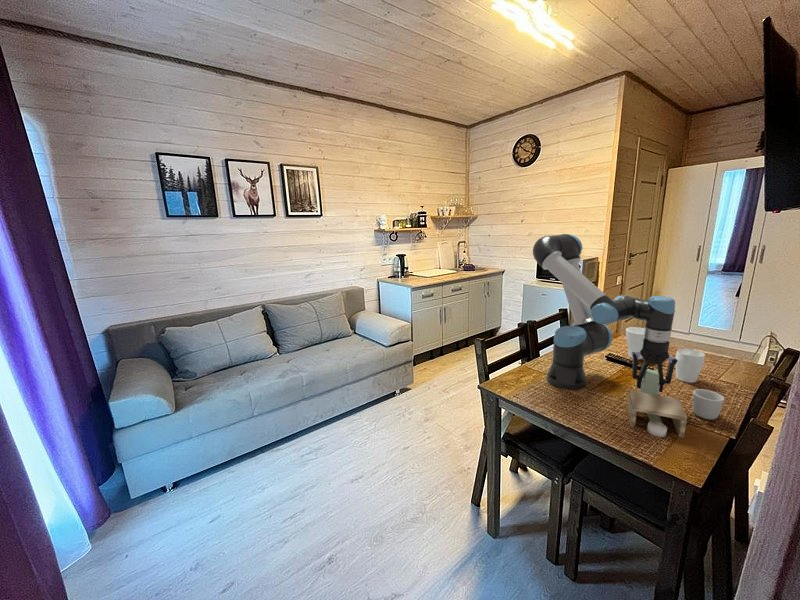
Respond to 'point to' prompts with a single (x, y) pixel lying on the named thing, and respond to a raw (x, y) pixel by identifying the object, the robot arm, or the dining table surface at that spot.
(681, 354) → the cup
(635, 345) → the cup
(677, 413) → the beige arch
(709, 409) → the cup
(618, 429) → the dining table surface
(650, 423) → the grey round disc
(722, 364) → the dining table surface
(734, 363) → the dining table surface
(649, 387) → the sage green mallet
